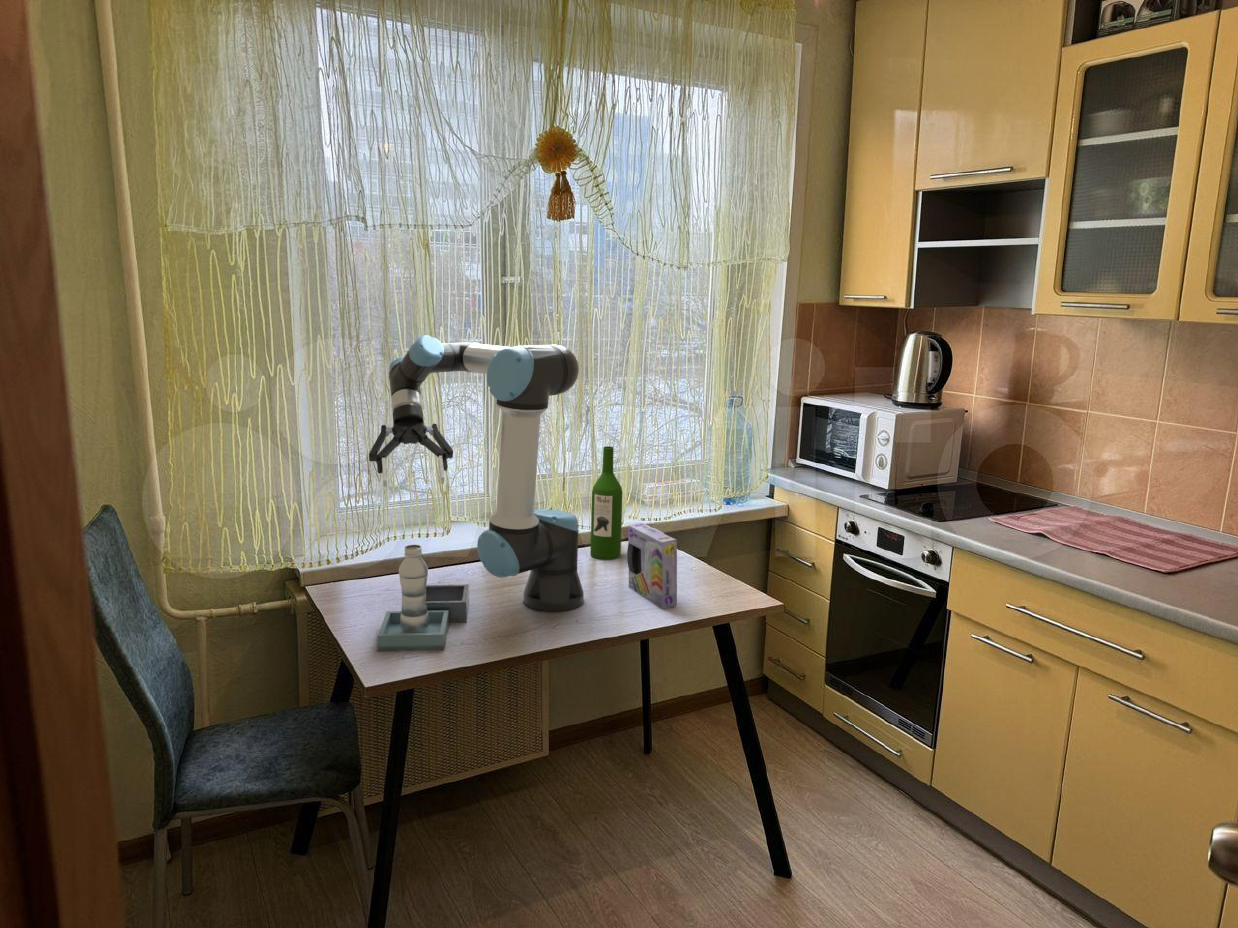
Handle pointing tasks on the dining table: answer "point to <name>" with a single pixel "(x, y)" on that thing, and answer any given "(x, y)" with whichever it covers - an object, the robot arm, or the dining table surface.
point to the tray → (397, 640)
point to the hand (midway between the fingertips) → (414, 482)
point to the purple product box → (652, 564)
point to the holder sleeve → (449, 600)
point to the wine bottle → (606, 512)
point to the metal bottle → (413, 591)
